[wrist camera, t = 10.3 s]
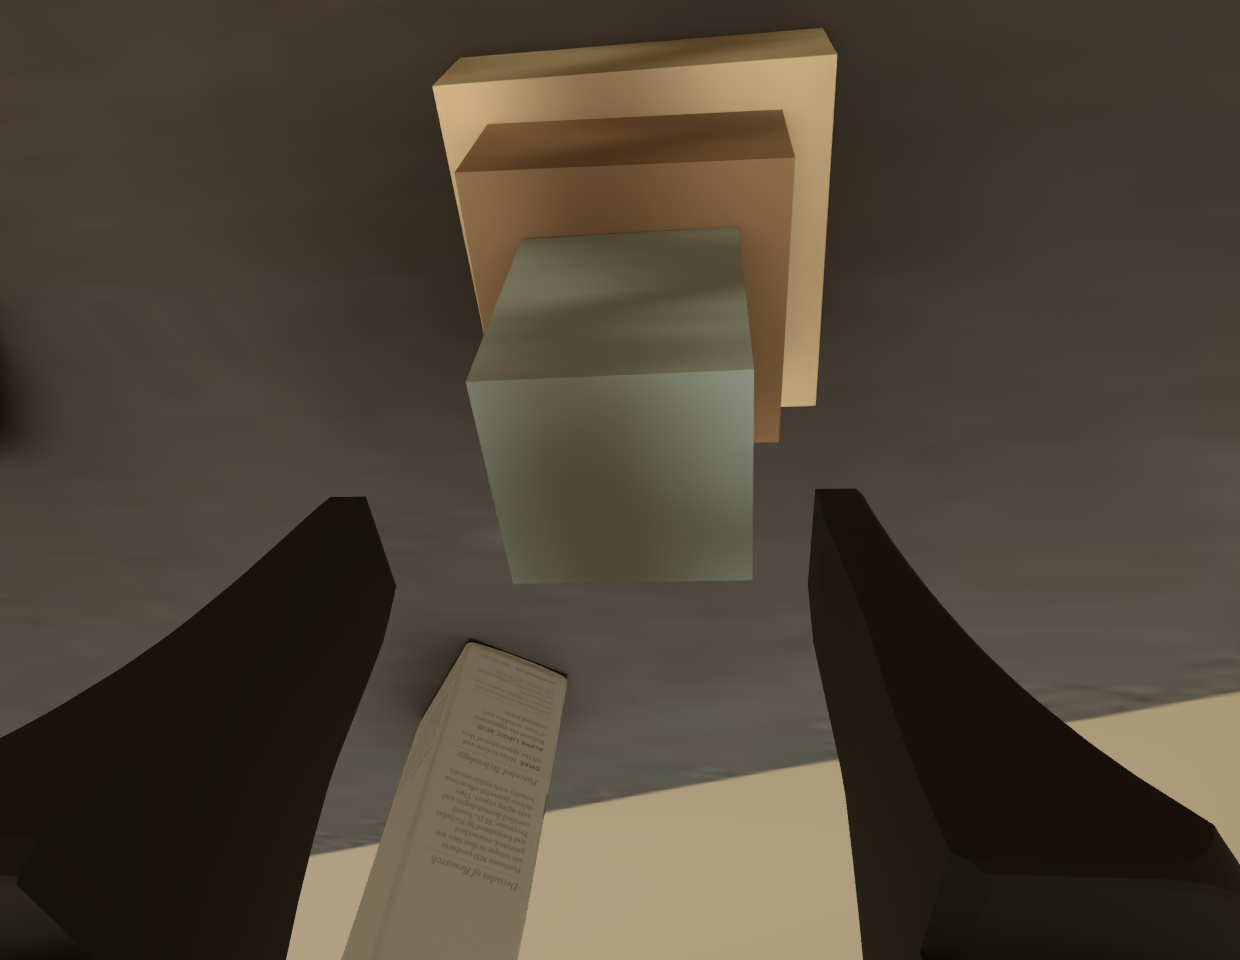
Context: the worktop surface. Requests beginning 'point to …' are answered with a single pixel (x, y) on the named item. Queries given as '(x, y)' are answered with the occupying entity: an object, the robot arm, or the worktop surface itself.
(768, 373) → the walnut block
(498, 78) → the birch slab
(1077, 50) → the worktop surface
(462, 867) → the skincare box
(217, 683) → the robot arm
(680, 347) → the greenish gray cube
